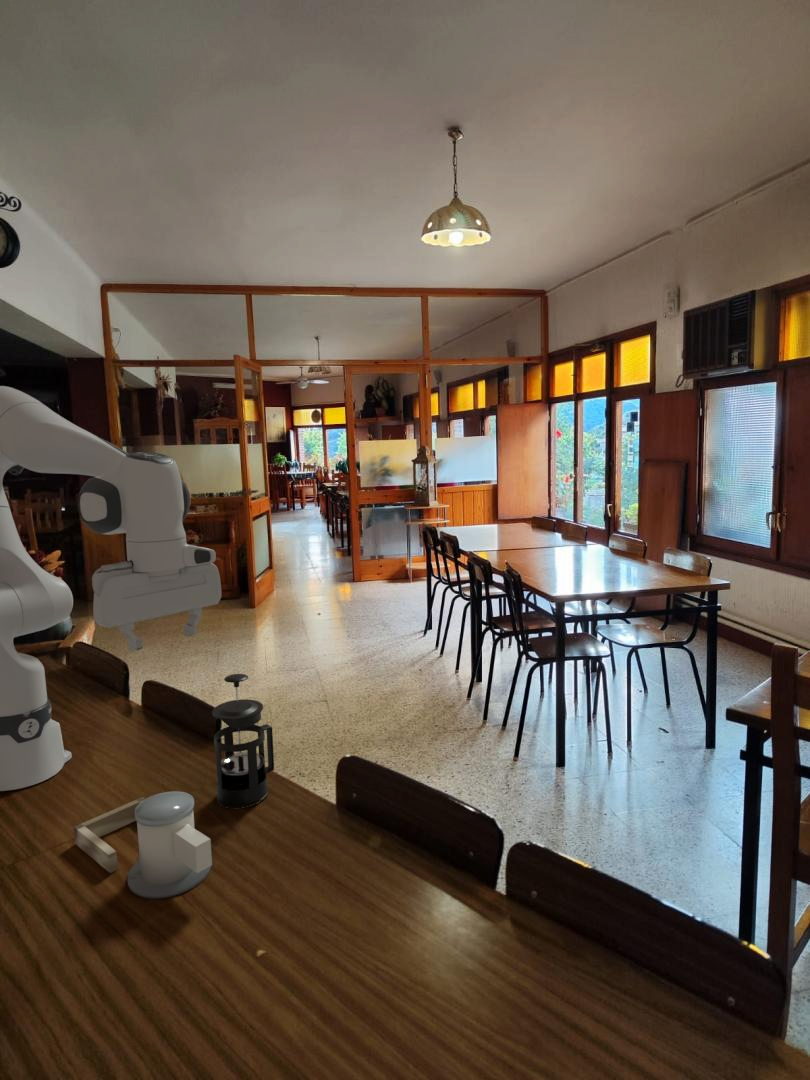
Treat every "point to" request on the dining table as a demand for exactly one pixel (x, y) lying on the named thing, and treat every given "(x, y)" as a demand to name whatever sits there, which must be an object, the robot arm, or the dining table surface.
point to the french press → (246, 764)
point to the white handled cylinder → (170, 838)
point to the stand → (100, 826)
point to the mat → (163, 890)
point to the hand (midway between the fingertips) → (163, 642)
